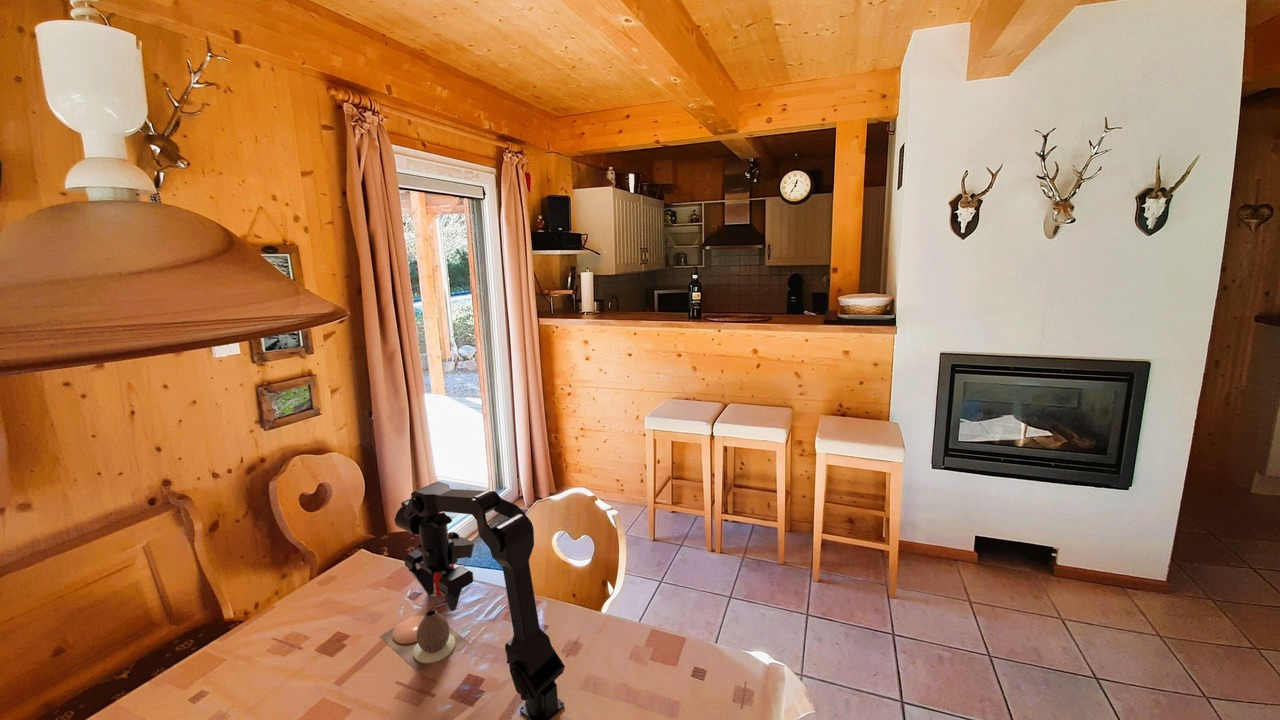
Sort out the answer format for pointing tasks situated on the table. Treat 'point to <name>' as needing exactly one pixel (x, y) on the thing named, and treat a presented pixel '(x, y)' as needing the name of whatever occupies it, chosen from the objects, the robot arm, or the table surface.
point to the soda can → (436, 584)
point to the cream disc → (436, 656)
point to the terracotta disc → (407, 630)
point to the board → (407, 650)
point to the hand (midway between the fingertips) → (441, 601)
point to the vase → (433, 632)
